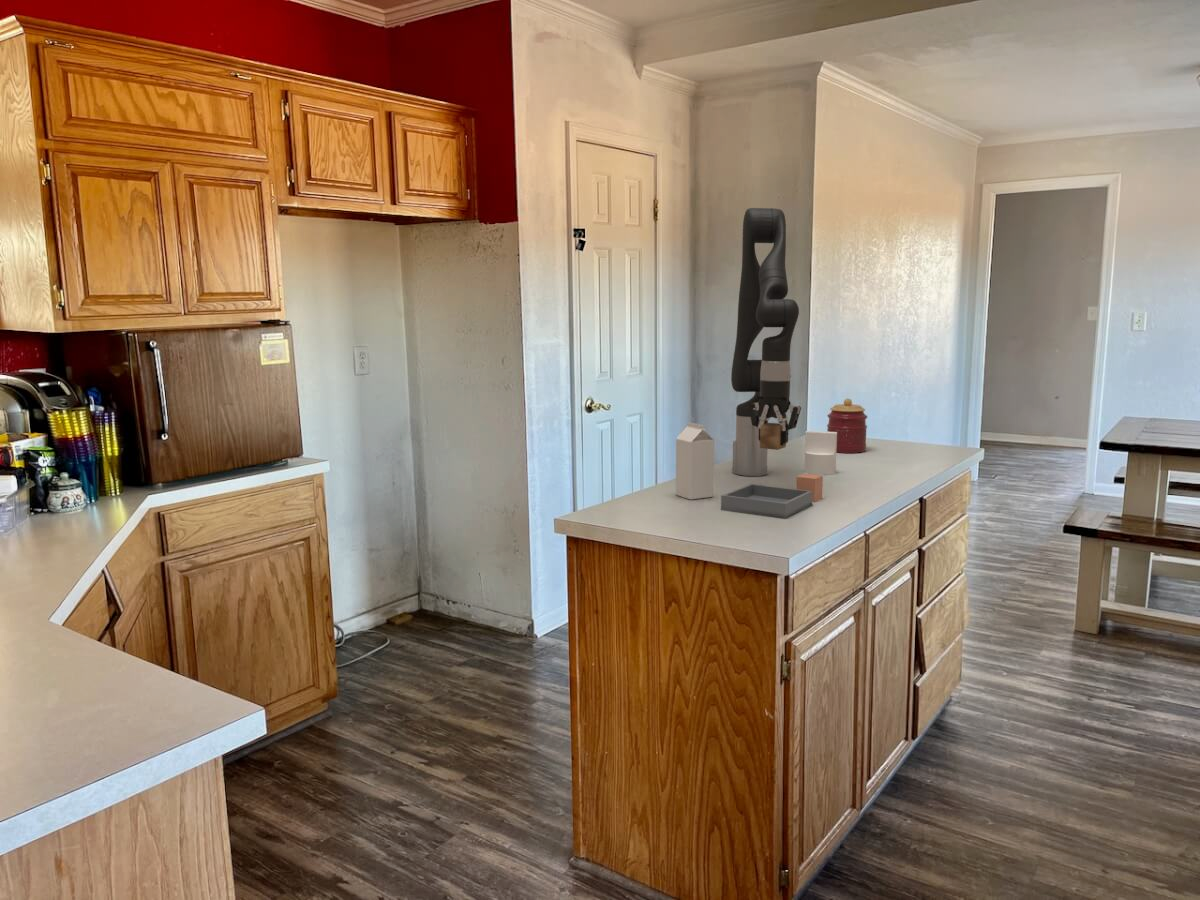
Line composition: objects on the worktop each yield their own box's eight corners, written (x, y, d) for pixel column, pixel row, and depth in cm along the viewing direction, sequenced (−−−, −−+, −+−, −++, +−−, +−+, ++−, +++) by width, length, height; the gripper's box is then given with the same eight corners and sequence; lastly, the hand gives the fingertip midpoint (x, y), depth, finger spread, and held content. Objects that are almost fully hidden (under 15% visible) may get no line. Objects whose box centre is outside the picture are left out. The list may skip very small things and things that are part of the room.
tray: (720, 509, 214) (721, 495, 213) (750, 497, 227) (750, 483, 227) (785, 518, 204) (785, 503, 204) (812, 505, 218) (812, 491, 217)
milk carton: (690, 500, 224) (691, 426, 221) (675, 495, 230) (675, 423, 227) (713, 497, 227) (714, 424, 224) (698, 492, 234) (699, 421, 230)
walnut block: (759, 448, 228) (760, 425, 227) (768, 445, 232) (768, 422, 231) (777, 449, 225) (778, 426, 224) (785, 447, 229) (786, 424, 228)
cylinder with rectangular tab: (801, 474, 258) (803, 433, 256) (806, 468, 266) (808, 429, 264) (833, 476, 254) (835, 435, 252) (837, 470, 262) (839, 430, 260)
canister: (827, 453, 293) (829, 400, 290) (824, 447, 305) (826, 396, 302) (868, 454, 291) (870, 400, 288) (863, 447, 303) (865, 396, 300)
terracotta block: (795, 499, 224) (796, 476, 223) (803, 496, 228) (804, 473, 227) (814, 502, 221) (815, 478, 220) (822, 498, 225) (822, 475, 224)
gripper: (743, 378, 226) (741, 443, 229) (795, 381, 218) (793, 448, 221) (755, 375, 232) (754, 439, 235) (807, 378, 224) (805, 444, 227)
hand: (773, 443), depth 228 cm, fingers closed on walnut block, 5 cm apart
